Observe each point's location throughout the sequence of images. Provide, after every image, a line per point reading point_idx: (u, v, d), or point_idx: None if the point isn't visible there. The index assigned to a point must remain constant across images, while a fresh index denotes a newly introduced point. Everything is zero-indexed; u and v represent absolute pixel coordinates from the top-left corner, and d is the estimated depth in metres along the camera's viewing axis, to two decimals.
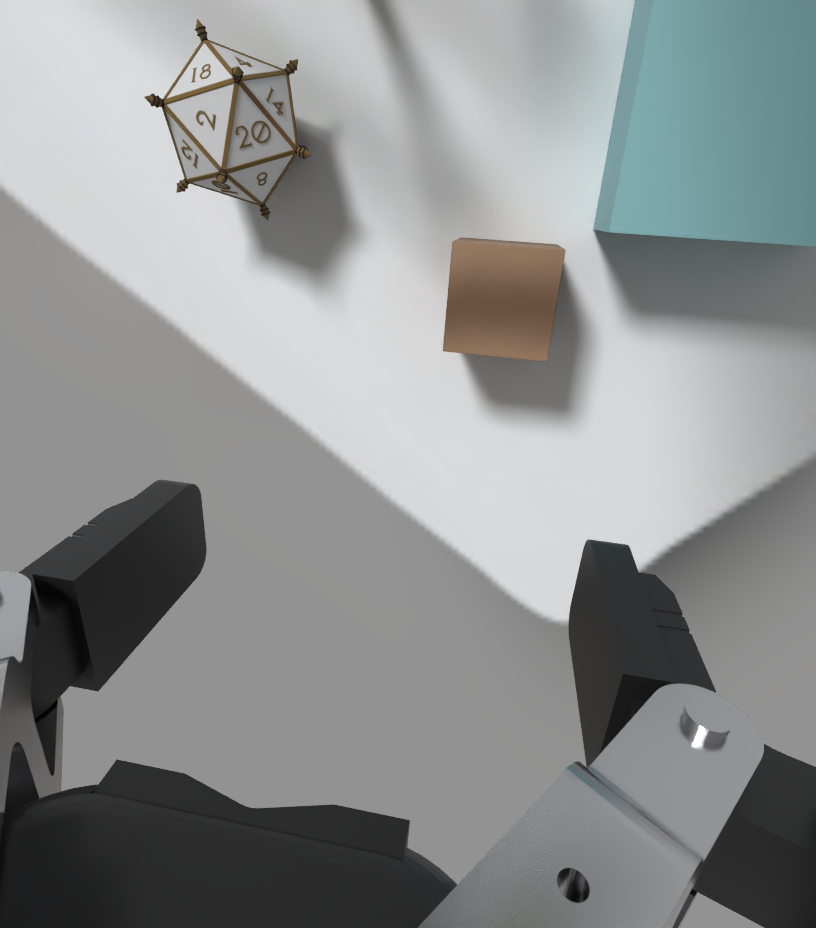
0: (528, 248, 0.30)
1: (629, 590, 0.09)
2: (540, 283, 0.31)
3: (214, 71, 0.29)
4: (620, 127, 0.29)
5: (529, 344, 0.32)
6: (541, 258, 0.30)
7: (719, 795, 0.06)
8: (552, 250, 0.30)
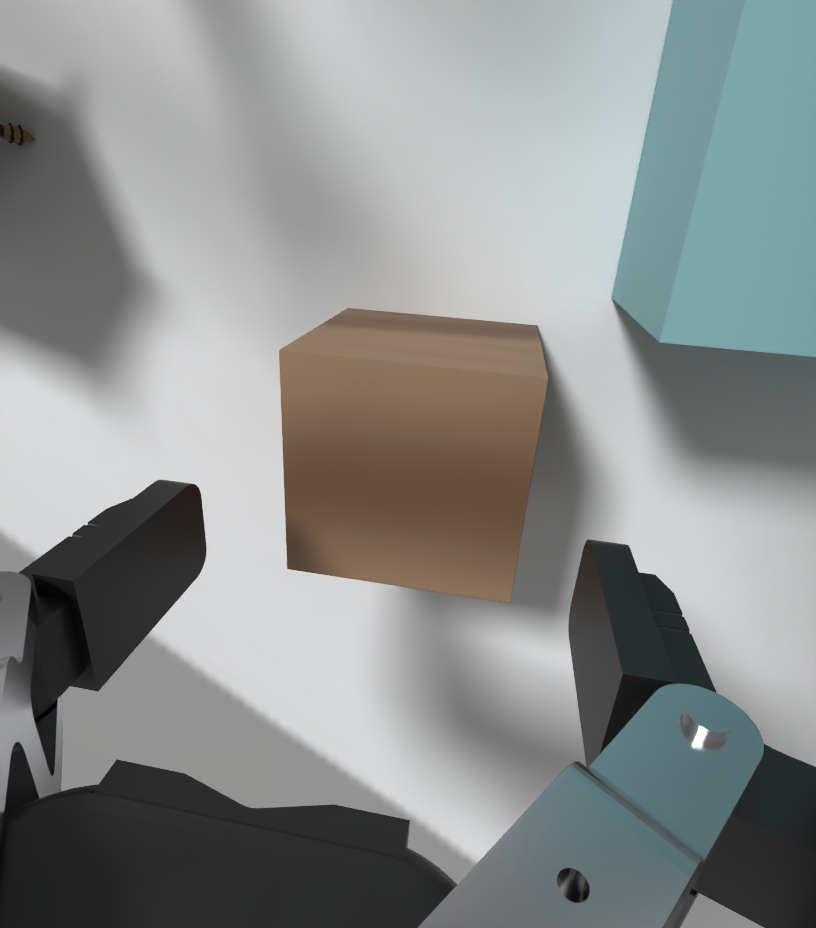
0: (458, 371, 0.12)
1: (629, 590, 0.09)
2: (489, 449, 0.13)
3: None
4: (688, 70, 0.12)
5: (470, 569, 0.14)
6: (490, 395, 0.12)
7: (720, 795, 0.06)
8: (516, 378, 0.12)
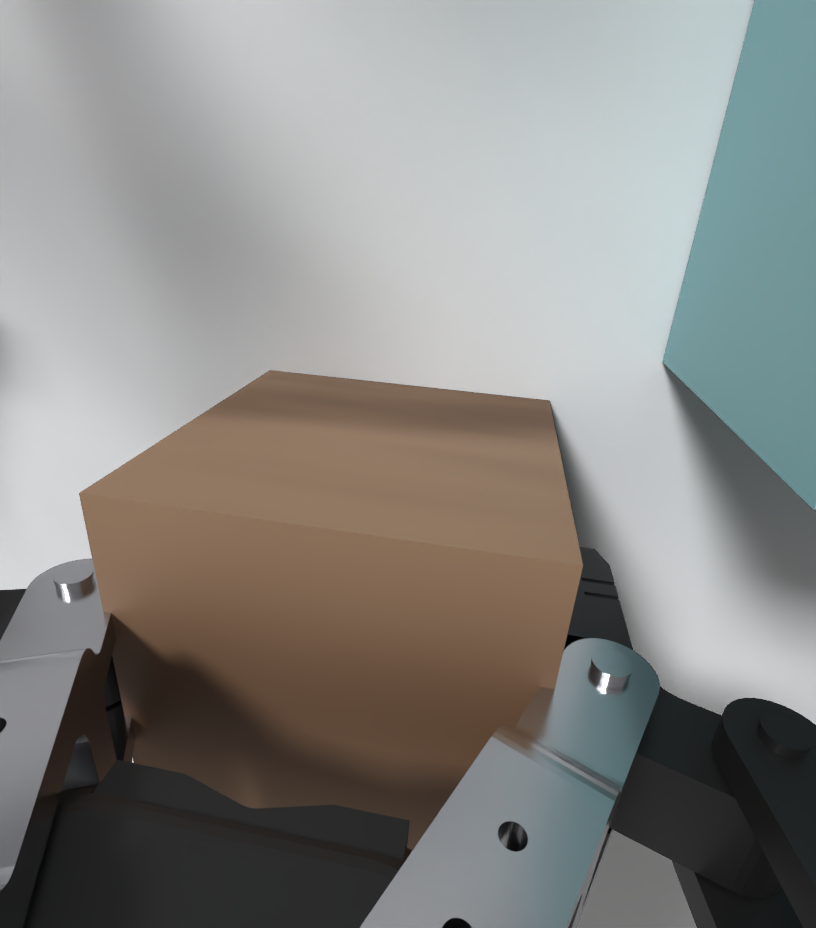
0: (408, 545, 0.06)
1: None
2: (470, 675, 0.07)
3: None
4: None
5: None
6: (470, 587, 0.06)
7: (610, 728, 0.06)
8: (521, 562, 0.06)
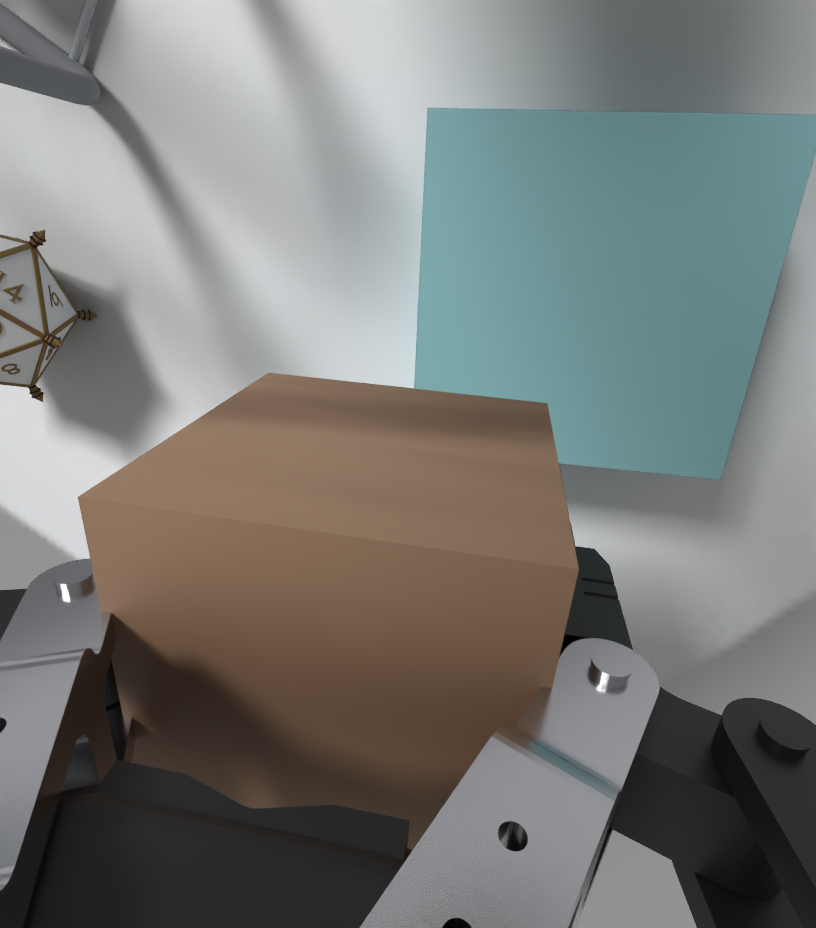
0: (405, 549, 0.06)
1: None
2: (467, 677, 0.07)
3: None
4: None
5: None
6: (466, 591, 0.06)
7: (610, 728, 0.06)
8: (517, 566, 0.06)
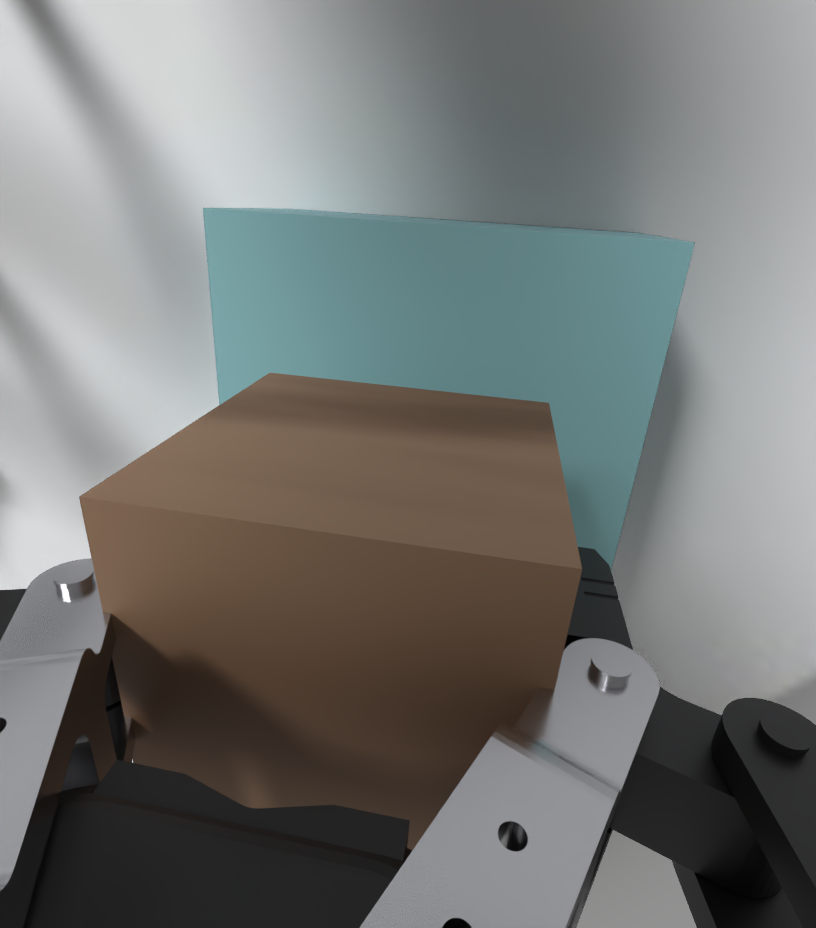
0: (408, 549, 0.06)
1: None
2: (469, 677, 0.07)
3: None
4: None
5: None
6: (469, 590, 0.06)
7: (610, 728, 0.06)
8: (520, 566, 0.06)
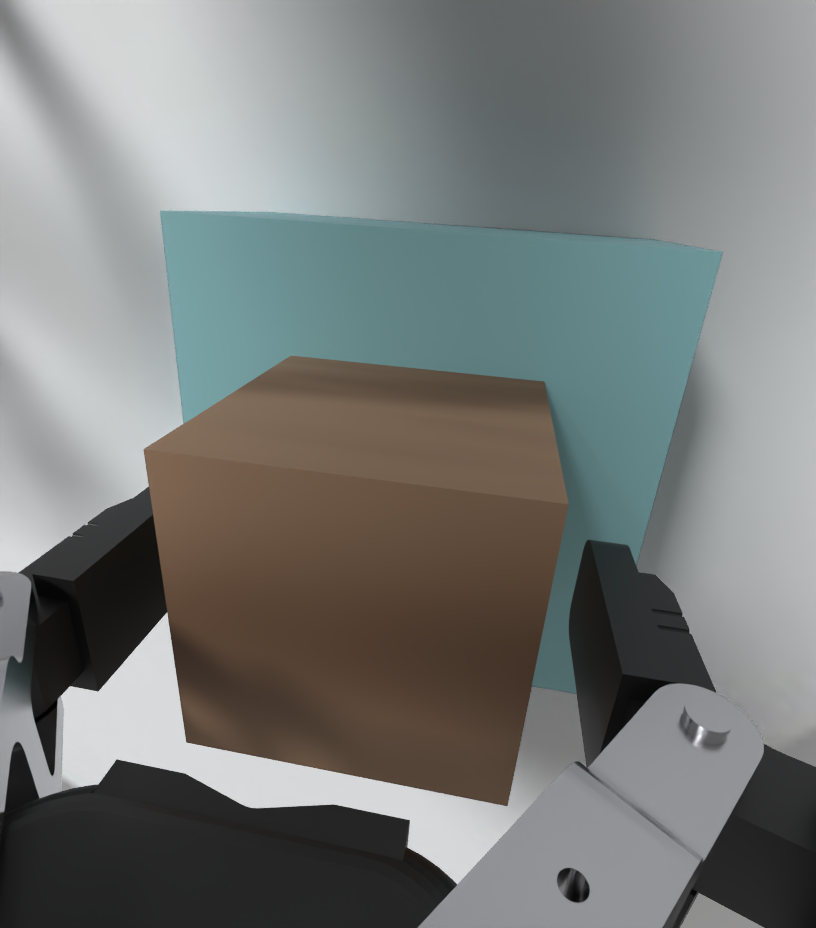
0: (423, 490, 0.08)
1: (629, 590, 0.09)
2: (475, 603, 0.08)
3: None
4: None
5: (449, 760, 0.10)
6: (474, 525, 0.08)
7: (720, 795, 0.06)
8: (516, 502, 0.07)
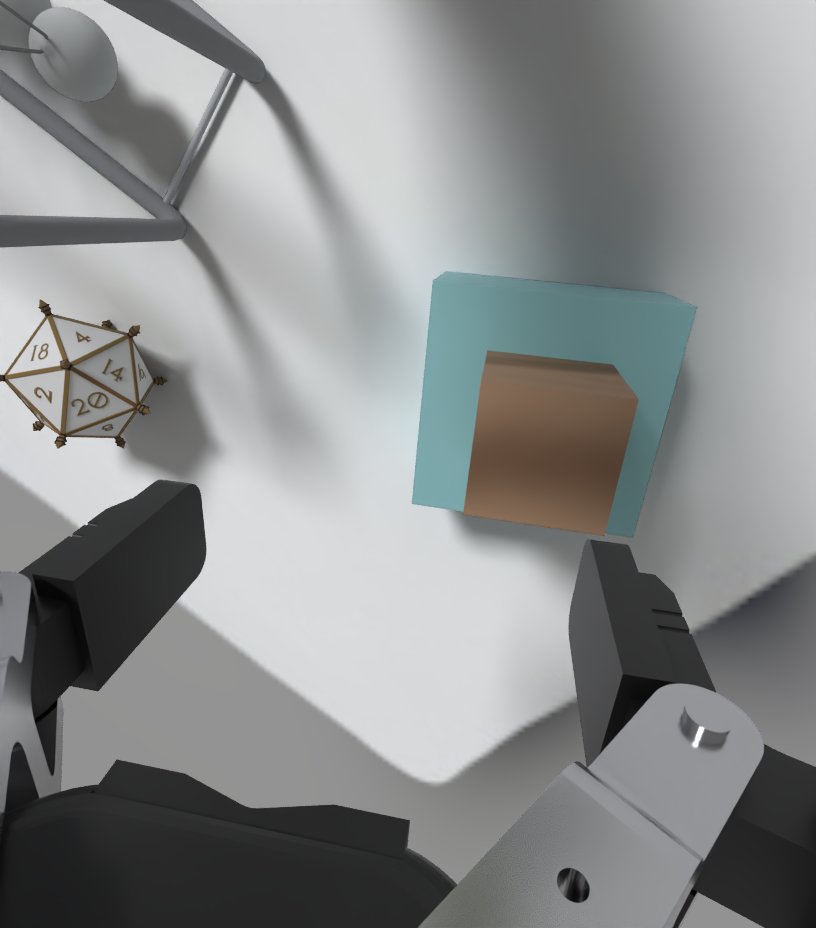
0: (586, 394, 0.22)
1: (629, 590, 0.09)
2: (601, 439, 0.22)
3: (51, 352, 0.31)
4: None
5: (581, 514, 0.24)
6: (604, 408, 0.22)
7: (720, 795, 0.06)
8: (620, 399, 0.21)
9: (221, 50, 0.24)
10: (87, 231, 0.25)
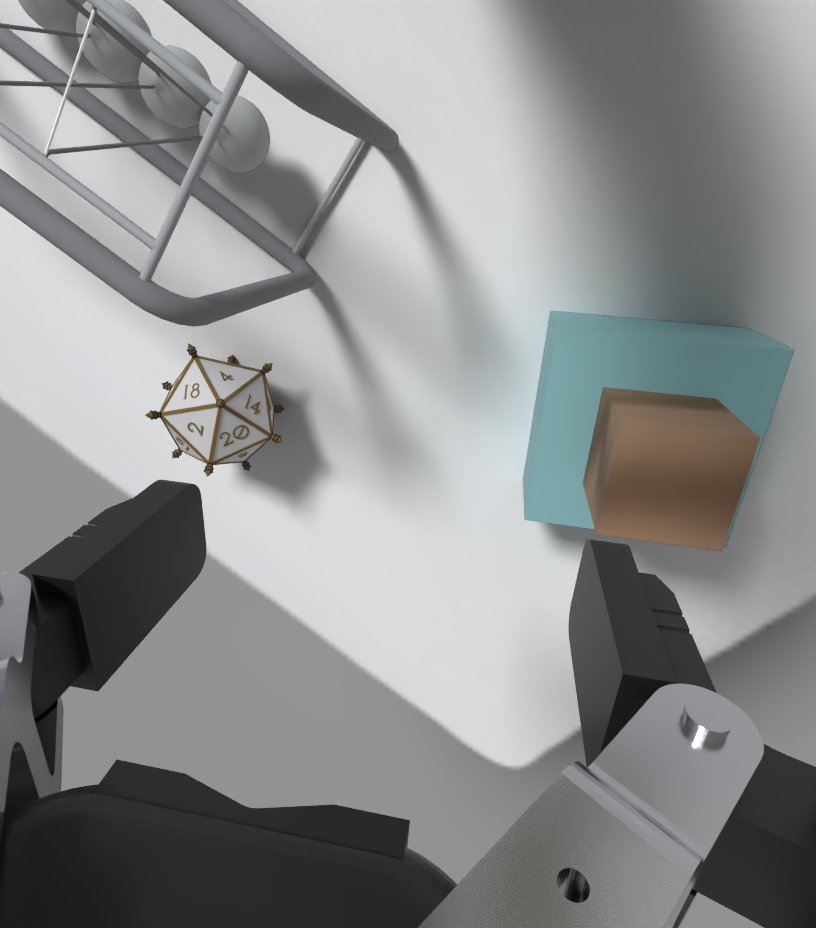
0: (714, 434, 0.25)
1: (629, 590, 0.09)
2: (724, 471, 0.26)
3: (202, 391, 0.35)
4: (535, 430, 0.36)
5: (702, 533, 0.27)
6: (729, 445, 0.26)
7: (720, 795, 0.06)
8: (744, 437, 0.25)
9: (380, 136, 0.28)
10: (264, 295, 0.29)
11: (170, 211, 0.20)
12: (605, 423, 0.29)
